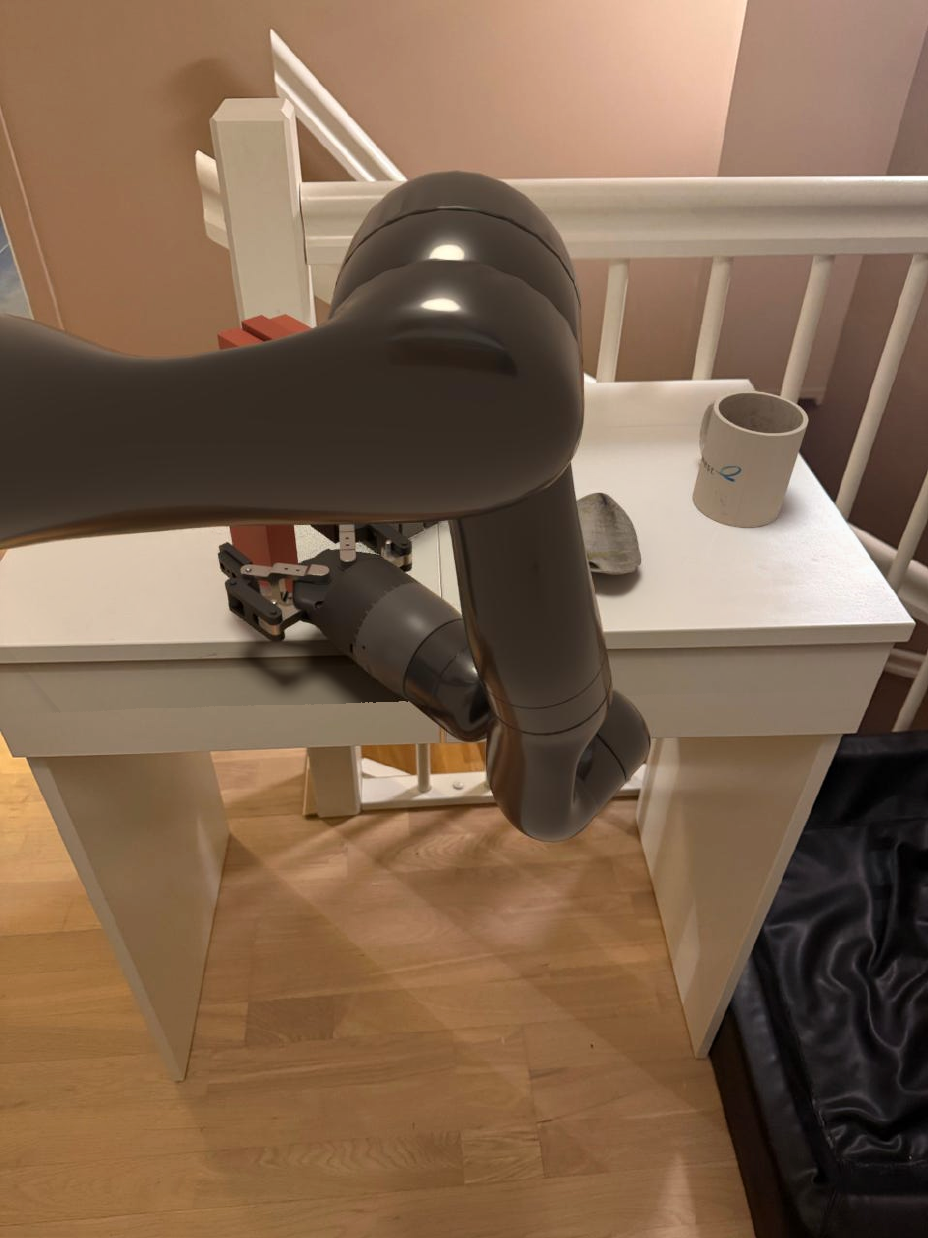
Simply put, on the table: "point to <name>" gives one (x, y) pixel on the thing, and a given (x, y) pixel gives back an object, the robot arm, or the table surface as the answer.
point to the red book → (267, 546)
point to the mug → (747, 457)
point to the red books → (260, 331)
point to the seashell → (608, 535)
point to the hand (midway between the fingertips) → (268, 532)
